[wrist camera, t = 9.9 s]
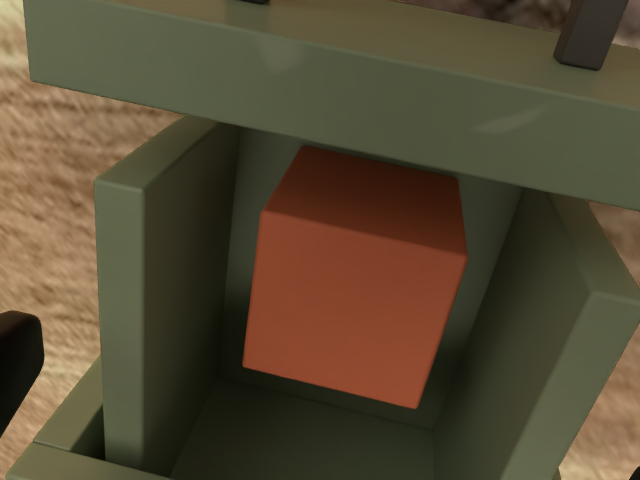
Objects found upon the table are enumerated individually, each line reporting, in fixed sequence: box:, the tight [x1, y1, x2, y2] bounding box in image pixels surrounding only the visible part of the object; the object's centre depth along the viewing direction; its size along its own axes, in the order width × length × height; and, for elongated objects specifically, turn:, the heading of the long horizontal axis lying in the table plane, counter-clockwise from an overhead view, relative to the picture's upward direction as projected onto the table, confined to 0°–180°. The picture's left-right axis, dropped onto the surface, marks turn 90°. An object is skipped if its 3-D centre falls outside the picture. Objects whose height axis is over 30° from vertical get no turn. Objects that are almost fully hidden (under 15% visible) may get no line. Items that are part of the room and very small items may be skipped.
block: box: [243, 146, 469, 409], centre depth 12 cm, size 4×4×4 cm
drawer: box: [23, 0, 640, 480], centre depth 11 cm, size 15×9×6 cm, turn 171°
